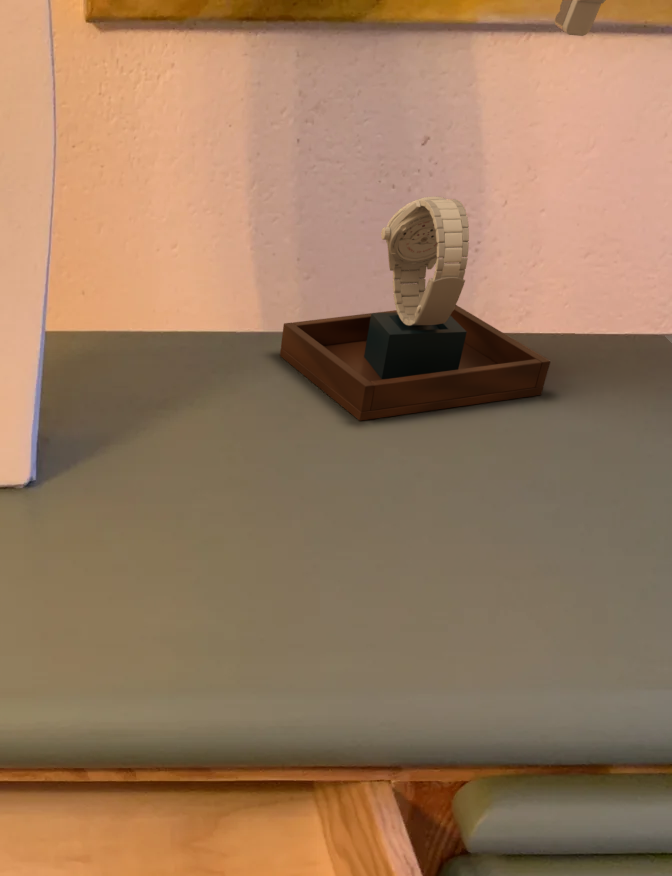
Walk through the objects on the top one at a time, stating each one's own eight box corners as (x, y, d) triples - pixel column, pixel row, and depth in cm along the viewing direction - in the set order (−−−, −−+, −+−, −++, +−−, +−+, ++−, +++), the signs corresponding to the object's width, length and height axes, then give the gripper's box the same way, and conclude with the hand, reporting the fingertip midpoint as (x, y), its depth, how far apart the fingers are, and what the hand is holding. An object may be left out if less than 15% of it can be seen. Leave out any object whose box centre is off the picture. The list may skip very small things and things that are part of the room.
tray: (446, 334, 90) (453, 302, 88) (541, 395, 81) (551, 360, 80) (279, 355, 87) (283, 323, 85) (359, 421, 78) (365, 386, 76)
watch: (427, 344, 87) (460, 183, 80) (465, 385, 81) (504, 216, 74) (355, 346, 86) (381, 185, 79) (387, 388, 80) (419, 218, 73)
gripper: (803, -237, 59) (664, 67, 69) (584, -302, 72) (493, -36, 82) (706, -254, 57) (578, 60, 68) (499, -317, 70) (417, -44, 80)
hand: (530, 7), depth 75 cm, fingers open, 8 cm apart
